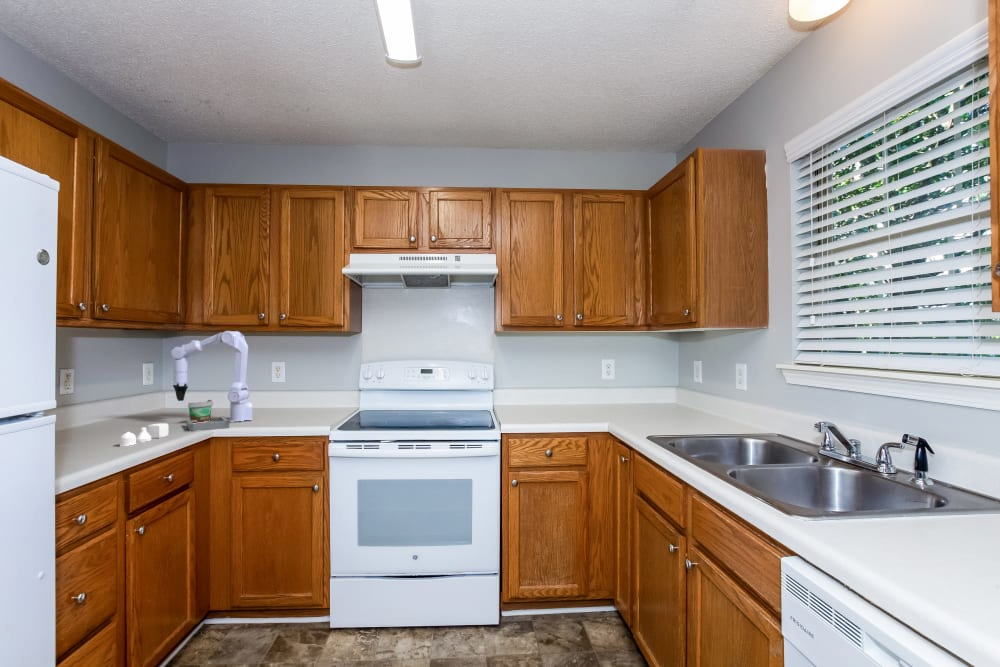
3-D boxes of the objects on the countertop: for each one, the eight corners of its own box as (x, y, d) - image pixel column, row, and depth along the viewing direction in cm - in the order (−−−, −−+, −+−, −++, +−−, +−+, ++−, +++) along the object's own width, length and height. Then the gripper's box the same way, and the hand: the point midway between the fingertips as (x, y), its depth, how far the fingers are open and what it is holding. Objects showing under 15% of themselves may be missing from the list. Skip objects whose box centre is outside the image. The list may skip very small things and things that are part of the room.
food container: (198, 424, 223) (198, 403, 223) (187, 424, 224) (187, 402, 225) (219, 420, 235) (219, 399, 235) (208, 419, 237) (208, 399, 237)
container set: (156, 436, 198) (156, 423, 198) (168, 436, 197) (168, 423, 197) (115, 447, 178) (115, 432, 178) (128, 447, 177) (128, 432, 177)
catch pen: (223, 422, 229) (223, 416, 229) (229, 427, 216) (229, 421, 216) (186, 425, 220) (186, 419, 220) (189, 431, 207) (189, 424, 207)
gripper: (169, 371, 235) (169, 398, 235) (171, 373, 224) (171, 402, 224) (186, 370, 239) (186, 397, 239) (189, 372, 228) (189, 401, 228)
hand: (180, 399), depth 232 cm, fingers open, 7 cm apart
